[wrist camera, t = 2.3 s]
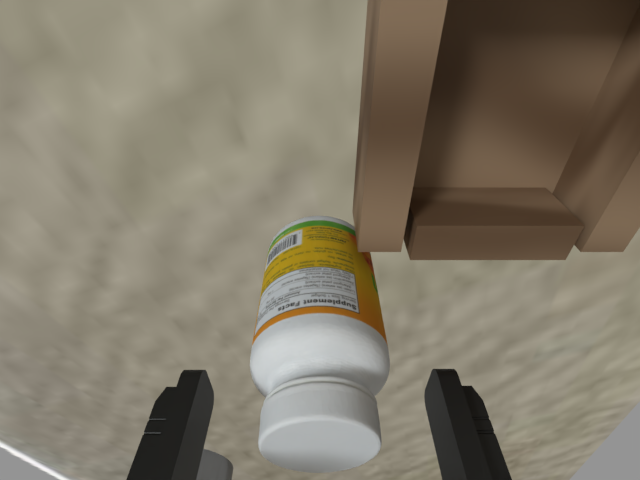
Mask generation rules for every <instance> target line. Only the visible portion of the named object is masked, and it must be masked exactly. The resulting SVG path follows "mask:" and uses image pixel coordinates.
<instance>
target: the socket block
mask: <svg viewBox="0 0 640 480" xmlns="http://www.w3.org/2000/svg"><path fill="white" fill-rule="evenodd" d="M352 213H353V220H354V227H355V234H356V241H357V248H358V252H401V249H402V244H403V239H404V243H405V246H406V249H407V252H408V255H409V259H410V260H566V258H567V257H568V255H569V253H570V251H571V250H572V248H573V246H574V245H575V246H576V247H577V249H578V250H579V251H580V252H623V251H624V250H625V249H626V247H627V246H628V244H629V243H630V241H631V240H632V238H633V237H634V235H635V234H636V232H637V231H638V229H639V228H640V0H368V2H367V16H366V30H365V43H364V57H363V71H362V85H361V99H360V113H359V127H358V141H357V154H356V168H355V182H354V196H353V210H352Z"/></svg>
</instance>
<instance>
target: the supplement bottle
mask: <svg viewBox="0 0 640 480" xmlns="http://www.w3.org/2000/svg"><path fill="white" fill-rule="evenodd" d="M389 370H390V358H389V350H388V345H387V339H386V333H385V328H384V323H383V317H382V312H381V306H380V300H379V295H378V290H377V285H376V279H375V274H374V269H373V263H372V258H371V253H370V252H358V248H357V241H356V234H355V227H354V226H352V225H351V224H349V223H348V222H346V221H343V220H341V219H338V218H334V217H329V216H310V217H304V218H301V219H298V220H296V221H293V222H291V223H289V224H288V225H286V226H285V227H283V228H282V229H281V230H280V231H279V232H278V233H277V234H276V235H275V237H274V238H273V240H272V242H271V244H270V247H269V250H268V255H267V260H266V265H265V271H264V277H263V283H262V289H261V295H260V301H259V307H258V313H257V319H256V325H255V330H254V336H253V343H252V349H251V357H250V371H251V376H252V379H253V382H254V384H255V386H256V387H257V389H258V390H259V392H260V393H261V394H262V395H263V396H264V397H265V400H264V403H263V407H262V409H261V414H260V430H259V439H258V446H259V450H260V452H261V454H262V455H263V457H265V458H266V459H267V460H268V461H270V462H271V463H273V464H275V465H277V466H280V467H283V468H286V469H290V470H295V471H300V472H309V473H326V472H336V471H343V470H347V469H351V468H354V467H358V466H360V465H362V464H364V463H366V462H368V461H370V460H371V459H373V458H374V457H375V456H376V455H377V454H378V452H379V451H380V448H381V444H382V439H381V429H380V421H379V414H378V408H377V401H376V398H375V396H376V395H377V394H378V393H379V392H380V390H381V389H382V388H383V386H384V385H385V383H386V381H387V378H388V375H389Z"/></svg>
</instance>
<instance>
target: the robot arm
mask: <svg viewBox="0 0 640 480" xmlns="http://www.w3.org/2000/svg"><path fill="white" fill-rule="evenodd" d="M424 399H425V407H426V412H427V416H428V420H429V424H430V429H431V433H432V437H433V442H434V446H435V450H436V455H437V459H438V463H439V467H440V472H441V476H442V480H512V478H511V476H510V473H509V470H508V467H507V465H506V462H505V459H504V456H503V454H502V451H501V448H500V445H499V443H498V440H497V437H496V434H494V429H493V426H492V423H491V421H490V420H489V415H488V412H487V410H486V407H485V404H484V402H483V400H482V398H481V397H480V396H479V394H478V393H477V392H476V391H475V389H474V388H473V387H472V386H462V385H461V382H460V379H459V376H458V373H457V371H456V370H455V369H432V371H431V374H430V377H429V380H428V383H427V385H426V388H425V393H424ZM213 405H214V391H213V388H212V385H211V382H210V379H209V377H208V374H207V371H206V370H183V371H182V373H181V375H180V377H179V380H178V383H177V386H176V387H166V388H165V389H164V391H163V392H162V393H161V394H160V396H159V397H158V398H157V400H156V401H155V403H154V406H153V408H152V411H151V414H150V417H149V421H148V422H147V425H146V427H145V430H144V435H143V436H142V438H141V441H140V444H139V446H138V449H137V452H136V455H135V457H134V460H133V463H132V465H131V468H130V471H129V474H128V476H127V479H126V480H232V474H233V465H232V463H231V462H230V461H229V460H228V459H227V458H225V457H224V456H222V455H220V454H218V453H216V452H213V451H210V450H207V449H203V448H204V444H205V440H206V436H207V431H208V427H209V423H210V419H211V414H212V410H213Z"/></svg>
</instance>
